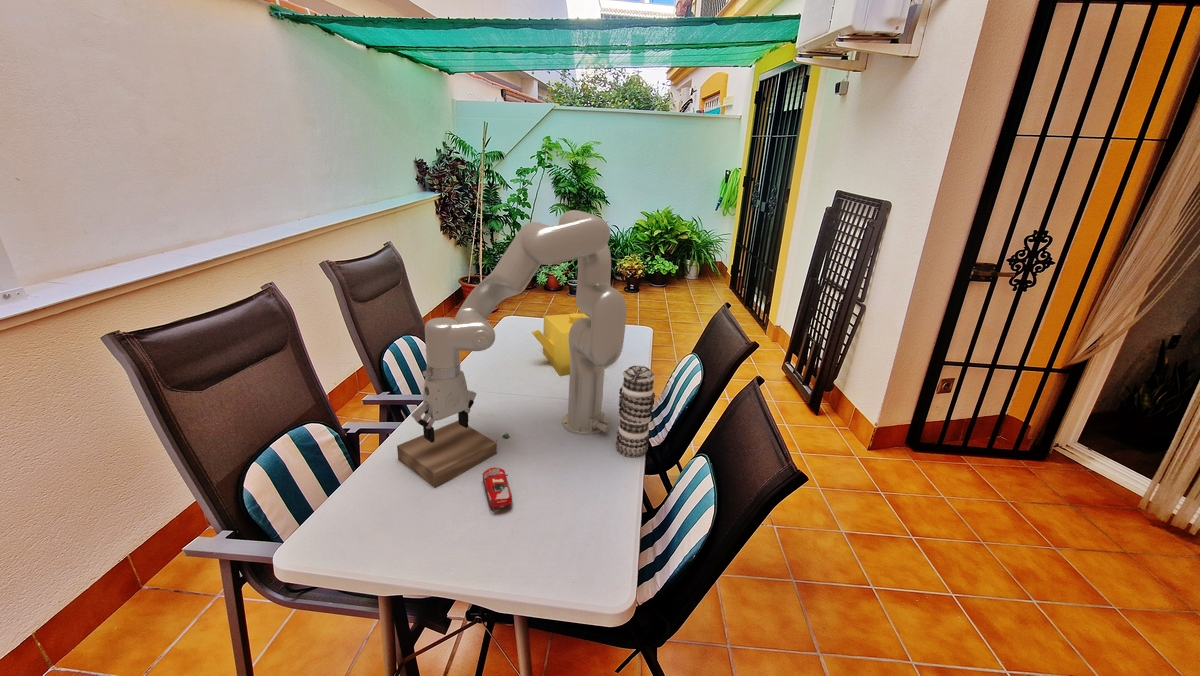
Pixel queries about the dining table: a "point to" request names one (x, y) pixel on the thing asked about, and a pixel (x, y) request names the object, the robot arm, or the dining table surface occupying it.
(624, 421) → the decorative candle
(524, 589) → the dining table surface
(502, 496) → the race car
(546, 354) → the square teapot
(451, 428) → the block
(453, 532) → the dining table surface
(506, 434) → the puzzle cube
